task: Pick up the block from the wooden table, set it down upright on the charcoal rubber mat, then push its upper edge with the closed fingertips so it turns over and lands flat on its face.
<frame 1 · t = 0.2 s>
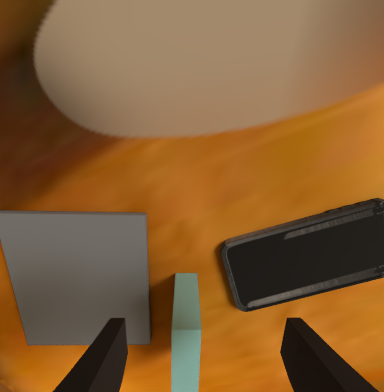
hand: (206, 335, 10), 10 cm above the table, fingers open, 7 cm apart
mat: (83, 282, 20), on the table
phone: (302, 252, 20), on the table
block: (185, 307, 21), on the table
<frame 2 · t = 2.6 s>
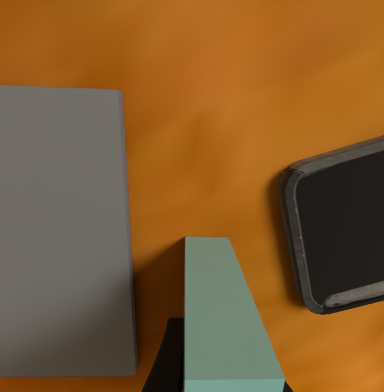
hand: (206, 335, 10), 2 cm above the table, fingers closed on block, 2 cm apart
mat: (0, 254, 10), on the table
block: (203, 306, 11), on the table, touching gripper
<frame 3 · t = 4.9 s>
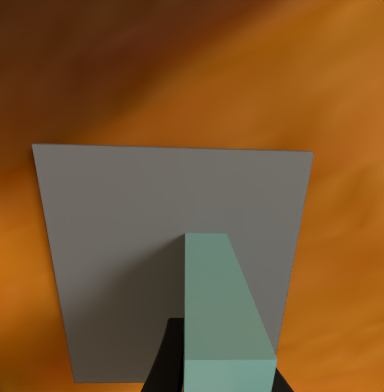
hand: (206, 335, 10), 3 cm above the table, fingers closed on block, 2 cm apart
mat: (175, 278, 12), on the table
block: (202, 301, 12), point 1 cm above the table, touching gripper, mat
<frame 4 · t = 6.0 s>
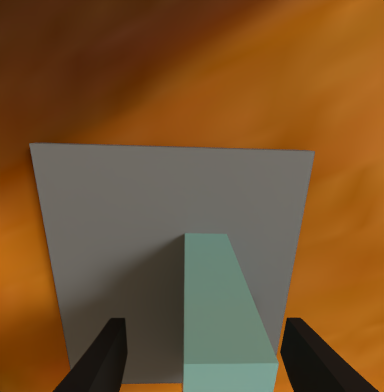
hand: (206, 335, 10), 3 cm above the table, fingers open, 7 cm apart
mat: (175, 279, 12), on the table
block: (202, 302, 11), point 1 cm above the table, touching mat
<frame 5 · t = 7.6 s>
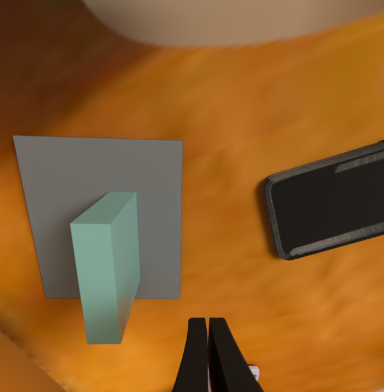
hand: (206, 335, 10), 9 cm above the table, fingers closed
mat: (109, 224, 18), on the table
phone: (350, 193, 18), on the table
block: (126, 238, 18), point 1 cm above the table, touching mat
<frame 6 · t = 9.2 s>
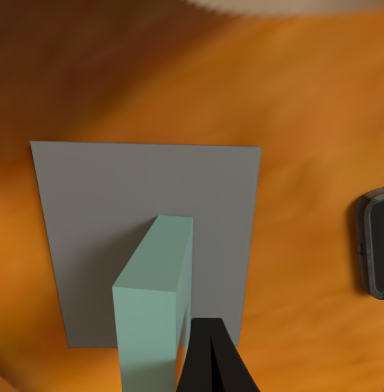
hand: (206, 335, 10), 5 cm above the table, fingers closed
mat: (153, 255, 14), on the table
block: (175, 275, 13), point 1 cm above the table, tilted 7°, touching mat
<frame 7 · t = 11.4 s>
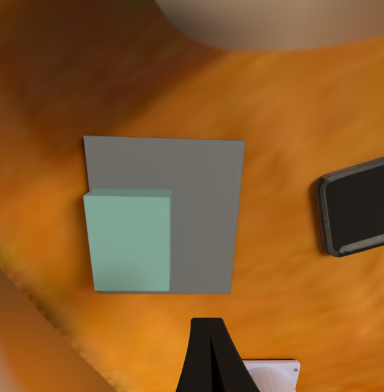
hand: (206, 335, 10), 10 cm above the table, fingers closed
mat: (166, 221, 19), on the table
block: (170, 241, 17), point 2 cm above the table, tilted 90°, touching mat
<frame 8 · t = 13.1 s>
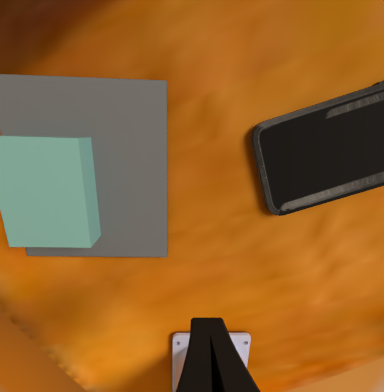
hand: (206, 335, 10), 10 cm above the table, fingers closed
mat: (92, 176, 17), on the table
phone: (344, 144, 18), on the table
block: (91, 193, 16), point 2 cm above the table, tilted 90°, touching mat
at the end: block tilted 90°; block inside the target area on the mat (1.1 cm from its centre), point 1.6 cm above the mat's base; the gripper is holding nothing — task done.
